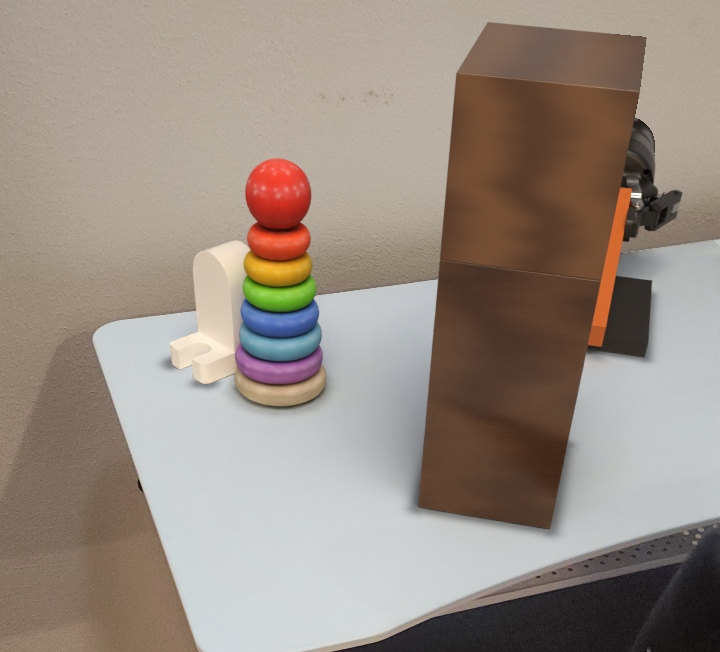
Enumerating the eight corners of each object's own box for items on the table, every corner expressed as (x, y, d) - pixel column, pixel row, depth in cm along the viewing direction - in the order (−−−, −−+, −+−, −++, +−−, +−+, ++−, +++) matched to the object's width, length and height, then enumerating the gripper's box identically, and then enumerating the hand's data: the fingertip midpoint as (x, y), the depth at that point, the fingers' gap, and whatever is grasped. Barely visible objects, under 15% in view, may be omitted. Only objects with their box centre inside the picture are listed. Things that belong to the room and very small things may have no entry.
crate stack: (564, 443, 82) (646, 36, 62) (550, 529, 74) (640, 91, 53) (445, 425, 84) (487, 21, 63) (417, 507, 75) (456, 72, 55)
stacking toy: (332, 408, 85) (335, 180, 72) (238, 413, 84) (224, 183, 71) (319, 362, 91) (320, 143, 78) (231, 367, 90) (217, 145, 77)
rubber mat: (648, 294, 103) (652, 280, 102) (644, 357, 93) (648, 342, 92) (552, 281, 105) (554, 267, 104) (538, 342, 95) (540, 327, 94)
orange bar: (627, 210, 101) (632, 188, 99) (601, 347, 92) (606, 326, 90) (597, 206, 101) (601, 184, 99) (569, 342, 93) (572, 322, 91)
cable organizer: (290, 349, 92) (288, 242, 85) (204, 385, 87) (195, 274, 80) (254, 329, 95) (249, 223, 88) (168, 362, 90) (156, 253, 83)
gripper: (560, 128, 107) (542, 179, 95) (694, 143, 105) (693, 198, 92) (548, 200, 112) (530, 257, 100) (675, 216, 110) (672, 277, 98)
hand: (608, 228), depth 96 cm, fingers closed on orange bar, 3 cm apart
